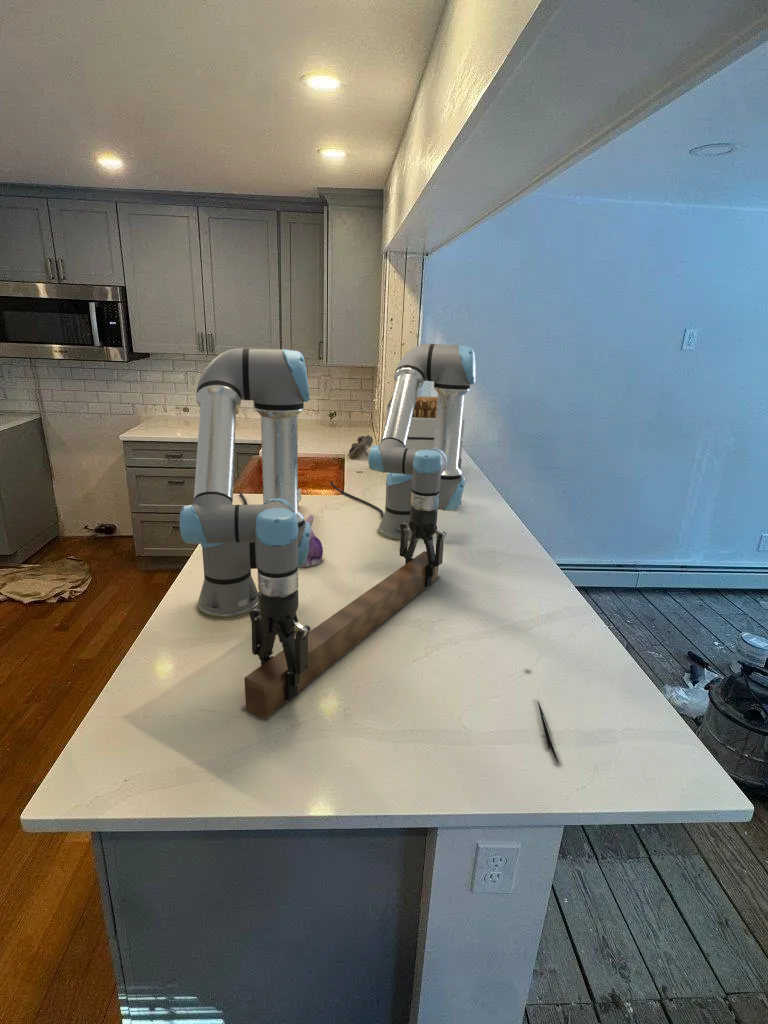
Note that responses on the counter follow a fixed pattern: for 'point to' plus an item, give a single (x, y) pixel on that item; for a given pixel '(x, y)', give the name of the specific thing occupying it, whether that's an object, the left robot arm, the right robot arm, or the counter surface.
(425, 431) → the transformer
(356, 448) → the fossil
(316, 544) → the figurine
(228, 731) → the counter surface
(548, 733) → the feather
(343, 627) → the bar
